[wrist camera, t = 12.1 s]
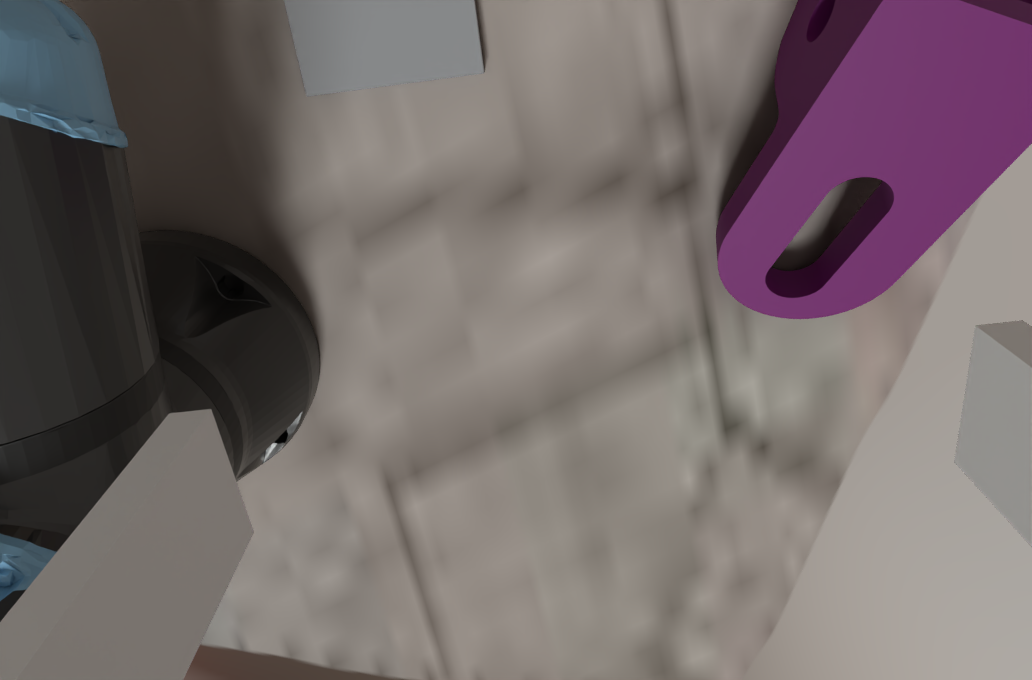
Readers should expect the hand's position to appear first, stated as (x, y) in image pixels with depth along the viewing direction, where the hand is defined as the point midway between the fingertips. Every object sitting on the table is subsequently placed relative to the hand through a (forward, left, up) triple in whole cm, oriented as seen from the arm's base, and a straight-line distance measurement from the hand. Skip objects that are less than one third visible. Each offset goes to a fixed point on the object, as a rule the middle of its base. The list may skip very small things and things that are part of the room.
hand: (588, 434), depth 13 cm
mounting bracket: (+15, -2, -29) cm, 33 cm away
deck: (-7, +8, -29) cm, 31 cm away
